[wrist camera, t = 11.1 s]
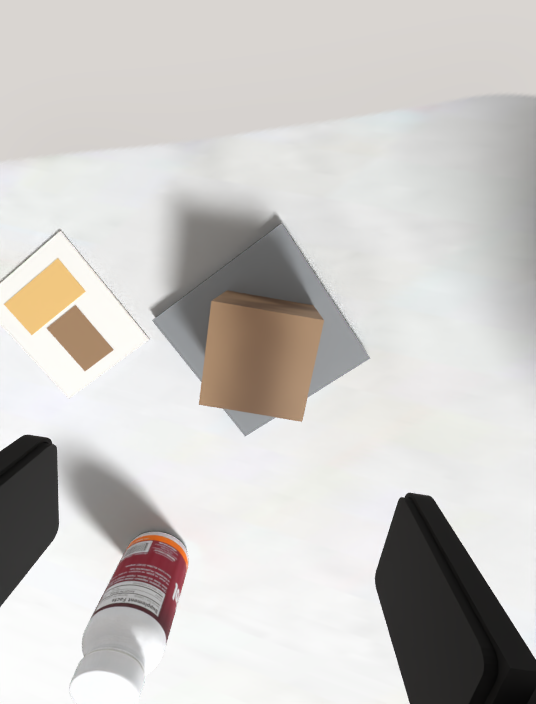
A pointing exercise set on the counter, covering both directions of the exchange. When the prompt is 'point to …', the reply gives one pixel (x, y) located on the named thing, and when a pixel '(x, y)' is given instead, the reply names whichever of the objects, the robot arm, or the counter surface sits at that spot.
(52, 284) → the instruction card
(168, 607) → the pill bottle
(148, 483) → the counter surface
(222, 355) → the walnut block
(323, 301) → the slate plate
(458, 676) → the robot arm
